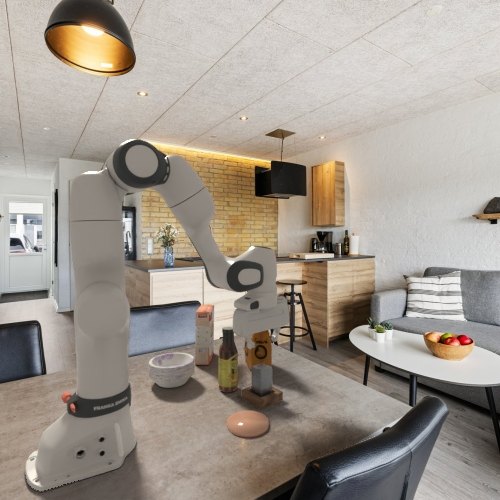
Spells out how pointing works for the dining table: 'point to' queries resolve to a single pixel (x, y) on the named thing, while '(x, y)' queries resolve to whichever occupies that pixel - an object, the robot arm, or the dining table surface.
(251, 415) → the peach domed puck
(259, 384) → the steel peg
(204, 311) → the cracker box
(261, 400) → the socket block
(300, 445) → the dining table surface
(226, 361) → the sauce bottle
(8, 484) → the dining table surface
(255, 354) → the coffee package
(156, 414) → the dining table surface
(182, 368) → the paper bowls
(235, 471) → the dining table surface
